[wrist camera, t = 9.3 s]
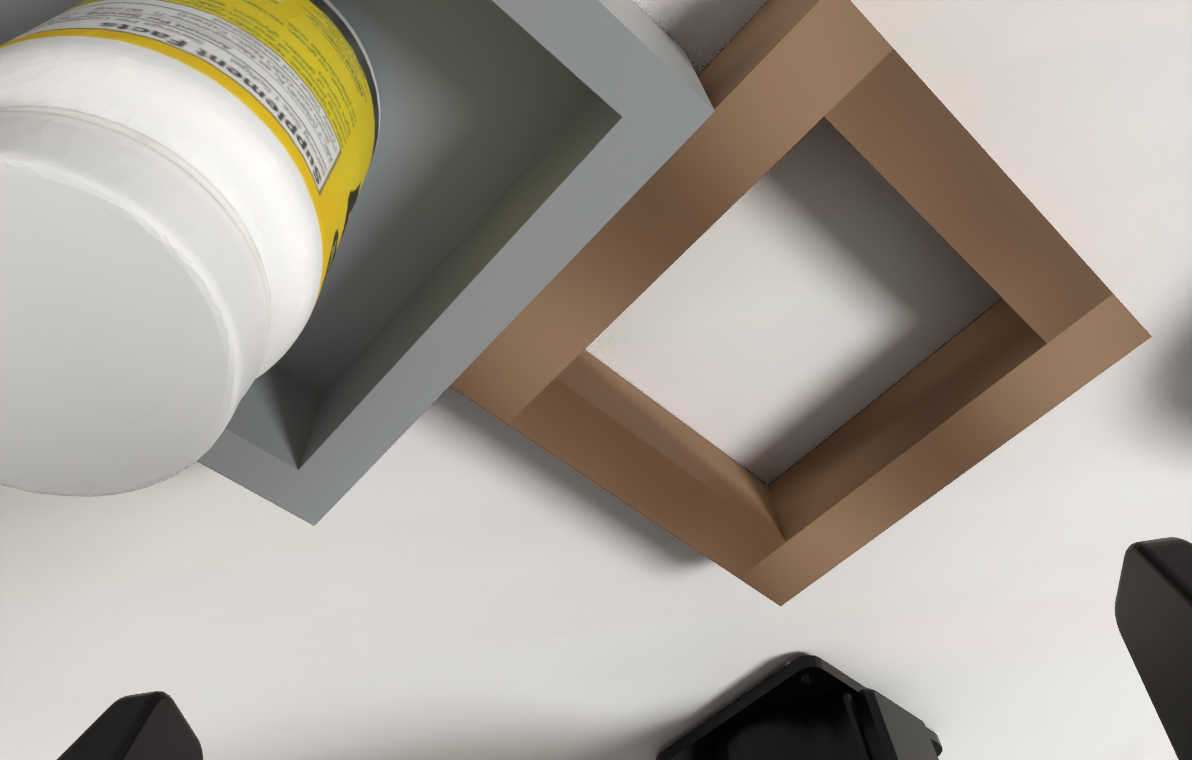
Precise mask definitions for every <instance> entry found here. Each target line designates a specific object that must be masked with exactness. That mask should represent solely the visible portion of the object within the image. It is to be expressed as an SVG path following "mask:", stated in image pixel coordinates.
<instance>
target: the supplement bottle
mask: <svg viewBox="0 0 1192 760" xmlns="http://www.w3.org/2000/svg"><path fill="white" fill-rule="evenodd" d="M379 130H380V100H379V93H378V87H377V82H376V78H375V75H374V71H373V68H372V65H371V63H370V60H369V58H368V55H367V53H366V51H365V49H364V47H363V45H362V43H361V41H360V39H359V38H358V36H357V34H356V33H355V31H354V30H353V28H352V27H351V26H350V24H349V23H348V21H347V20H346V19H345V18H344V16H343V15H342V14H341V13H340V12H339V11H338V10H337V8H336V7H335V6H334V5H333V4H332V3H331V2H330V1H329V0H85V1H83V2H81V3H80V4H78V5H76V6H74V7H72V8H70V9H69V10H67V11H65V12H63V13H61V14H59V15H58V16H56V17H54V18H52V19H51V20H49V21H47V22H45V23H43V24H41V25H39V26H37V27H35V28H33V29H31V30H29V31H28V32H26V33H24V34H22V35H20V36H18V37H16V38H14V39H12V40H10V41H8V42H6V43H4V44H2V45H0V484H2V485H4V486H8V487H12V488H17V489H21V490H25V491H30V492H36V493H42V494H52V495H62V496H104V495H114V494H120V493H125V492H130V491H135V490H138V489H142V488H145V487H148V486H150V485H153V484H156V483H158V482H161V481H164V480H166V479H168V478H169V477H172V476H174V475H176V474H178V473H179V472H181V471H182V470H184V469H186V468H187V467H189V466H190V465H192V464H193V463H195V462H196V461H197V460H198V459H199V458H200V457H201V456H202V455H204V454H205V453H206V452H207V451H208V450H209V449H210V448H211V447H212V446H213V444H214V443H215V442H216V440H217V439H218V438H219V437H220V435H221V434H222V432H223V431H224V429H225V428H226V426H227V424H228V423H229V421H230V420H231V418H232V416H233V414H234V412H235V410H236V408H237V406H238V404H239V402H240V400H241V399H242V397H243V396H244V395H245V394H246V392H247V391H248V389H249V388H250V386H251V385H252V383H253V382H254V380H255V379H256V378H258V377H259V376H261V375H262V374H263V373H265V372H266V371H267V370H268V369H270V368H271V367H272V366H273V365H274V364H275V363H276V362H277V361H278V360H279V359H280V358H281V357H282V356H283V355H284V354H285V353H286V352H287V351H288V350H289V348H290V347H291V346H292V344H293V343H294V342H295V341H296V339H297V338H298V336H299V335H300V333H301V332H302V330H303V328H304V327H305V325H306V323H307V321H308V320H309V317H310V315H311V313H312V311H313V308H314V306H315V304H316V302H317V299H318V296H319V294H320V291H321V289H322V286H323V284H324V281H325V279H326V276H327V274H328V272H329V270H330V267H331V265H332V263H333V260H334V258H335V254H336V250H337V247H338V244H339V242H340V240H341V238H342V236H343V233H344V231H345V227H346V225H347V222H348V220H349V217H350V214H351V212H352V209H353V207H354V204H355V202H356V199H357V197H358V194H359V192H360V189H361V187H362V184H363V182H364V179H365V177H366V174H367V171H368V169H369V166H370V164H371V161H372V158H373V155H374V152H375V149H376V145H377V142H378V136H379Z"/></svg>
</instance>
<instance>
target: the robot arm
mask: <svg viewBox="0 0 1192 760" xmlns="http://www.w3.org/2000/svg"><path fill="white" fill-rule="evenodd" d="M1115 616H1116V622H1117V625H1118V628H1119V631H1120V633H1121V636H1122V638H1123V640H1124V642H1125V644H1126V647H1127V649H1128V651H1129V653H1130V655H1131V657H1132V660H1133V662H1134V664H1135V666H1136V668H1137V670H1138V673H1139V675H1140V677H1141V679H1142V681H1143V683H1144V686H1145V688H1146V690H1147V692H1148V694H1149V696H1150V699H1151V701H1152V703H1153V705H1154V707H1155V709H1156V712H1157V714H1158V716H1159V718H1160V720H1161V722H1162V725H1163V727H1164V729H1165V731H1166V733H1167V735H1168V738H1169V740H1170V742H1171V744H1172V746H1173V749H1174V751H1175V753H1176V755H1177V757H1178V759H1179V760H1192V543H1190V542H1188V541H1186V540H1183V539H1180V538H1175V537H1168V538H1161V539H1155V540H1148V541H1141V542H1136V543H1133V544H1131V545H1130V546H1129V548H1128V549H1127V550H1126V553H1125V556H1124V561H1123V566H1122V571H1121V576H1120V581H1119V586H1118V591H1117V596H1116V601H1115ZM941 752H942V746H941V743H940V741H939V738H938V736H937V735H936V733H935V732H933V731H931V730H930V729H928V728H927V727H925V724H924V723H923V722H922V721H921V720H920V719H918V718H917V717H915V716H914V715H912V714H910V713H909V712H907V711H906V710H904V709H903V708H901V707H900V706H898V705H897V704H895V703H894V702H892V701H891V700H889V699H887V698H886V697H884V696H883V695H881V694H880V693H878V692H877V691H875V690H872V689H869V688H866V687H864V686H862V685H861V684H859V683H858V682H856V681H855V680H853V679H851V678H850V677H848V676H847V675H845V674H844V673H842V672H841V671H839V670H838V669H836V668H835V667H833V666H831V665H830V664H828V663H827V662H825V661H824V660H822V659H821V658H819V657H816V656H810V655H807V656H802V657H799V658H797V659H795V660H794V661H792V662H791V663H789V664H788V665H787V666H785V667H784V668H782V669H781V670H779V671H778V672H776V673H775V674H774V675H772V676H771V677H769V678H768V679H766V680H765V681H763V682H762V683H761V684H759V685H758V686H756V687H755V688H753V689H752V690H750V691H749V692H748V693H746V694H745V695H743V696H742V697H740V698H739V699H737V700H736V701H735V702H733V703H732V704H730V705H729V706H727V707H726V708H724V709H723V710H722V711H720V712H719V713H717V714H716V715H714V716H713V717H711V718H710V719H709V720H707V721H706V722H704V723H703V724H701V725H700V726H698V727H697V728H696V729H694V730H693V731H691V732H690V733H688V734H687V735H686V736H684V737H683V738H681V739H680V740H678V741H677V742H675V743H674V744H673V745H671V746H670V747H668V748H667V749H665V750H664V751H662V752H661V753H660V754H659V755H658V756H657V757H656V759H655V760H939V759H938V756H939V755H940V754H941ZM57 760H203V753H202V748H201V745H200V742H199V740H198V738H197V736H196V735H195V733H194V732H193V730H192V729H191V727H190V726H189V724H188V722H187V721H186V719H185V718H184V716H183V715H182V713H181V711H180V710H179V708H178V707H177V705H176V704H175V702H174V700H173V699H172V698H171V697H170V695H168V694H166V693H164V692H162V691H155V692H148V693H142V694H135V695H129V696H125V697H122V698H120V699H118V700H117V701H115V702H114V703H113V704H112V705H111V706H110V707H109V708H108V709H107V710H106V711H105V712H104V713H103V714H102V715H101V716H100V717H99V718H98V719H97V720H96V721H95V722H94V723H93V724H92V725H91V726H90V727H89V728H88V729H87V730H86V731H85V732H84V733H83V734H82V735H81V736H80V737H79V738H78V739H77V740H76V741H75V742H74V743H73V744H72V745H71V746H70V747H69V748H68V749H67V750H66V751H65V752H64V753H63V754H62V755H61V756H60V757H59V758H58V759H57Z"/></svg>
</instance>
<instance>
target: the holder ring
mask: <svg viewBox="0 0 1192 760" xmlns="http://www.w3.org/2000/svg"><path fill="white" fill-rule="evenodd" d="M698 78H699V80H700V82H701V84H702V86H703V88H704V90H705V92H706V94H707V97H708V99H709V101H710V103H711V105H712V107H713V109H714V111H715V112H714V113H713V114H712V115H711V116H710V117H709V118H708V119H707V120H706V121H705V122H704V123H703V124H702V125H701V126H700V127H699V128H698V129H697V130H696V131H695V132H694V133H693V134H692V135H691V136H690V137H689V138H688V140H687V141H686V142H685V143H684V144H683V145H682V146H681V147H680V148H679V149H678V150H677V151H676V152H675V153H674V154H673V155H672V156H671V157H670V158H669V159H668V160H667V161H666V162H665V163H664V164H663V165H662V166H661V167H660V169H659V170H658V171H657V172H656V173H655V174H654V175H653V176H652V177H651V178H650V179H649V180H648V181H647V182H646V183H645V184H644V185H643V186H642V187H641V188H640V189H639V190H638V191H637V192H636V193H635V194H634V195H633V196H632V198H631V199H630V200H629V201H628V202H627V203H626V204H625V205H624V206H623V207H622V208H621V209H620V210H619V211H618V212H617V213H616V214H615V215H614V216H613V217H612V218H611V219H610V220H609V221H608V222H607V223H606V224H605V225H604V226H603V228H602V229H601V230H600V231H599V232H598V233H597V234H596V235H595V236H594V237H593V238H592V239H591V240H590V241H589V242H588V243H587V244H586V245H585V246H584V247H583V248H582V249H581V250H580V251H579V252H578V253H577V254H576V255H575V257H574V258H573V259H572V260H571V261H570V262H569V263H568V264H567V265H566V266H565V267H564V268H563V269H562V270H561V271H560V272H559V273H558V274H557V275H556V276H555V277H554V278H553V279H552V280H551V281H550V282H549V283H548V284H547V286H546V287H545V288H544V289H543V290H542V291H541V292H540V293H539V294H538V295H537V296H536V297H535V298H534V299H533V300H532V301H531V302H530V303H529V304H528V305H527V306H526V307H525V308H524V309H523V310H522V311H521V312H520V313H519V315H518V316H517V317H516V318H515V319H514V320H513V321H512V322H511V323H510V324H509V325H508V326H507V327H506V328H505V329H504V330H503V331H502V332H501V333H500V334H499V335H498V336H497V337H496V338H495V339H494V340H493V341H492V342H491V344H490V345H489V346H488V347H487V348H486V349H485V350H484V351H483V352H482V353H481V354H480V355H479V356H478V357H477V358H476V359H475V360H474V361H473V362H472V363H471V364H470V365H469V366H468V367H467V368H466V369H465V370H464V371H463V373H462V374H461V375H460V376H459V377H458V378H457V379H456V380H455V381H454V382H453V383H452V384H451V385H450V386H451V387H453V388H454V389H456V390H457V391H459V392H460V393H462V394H463V395H465V396H466V397H468V398H469V399H471V400H472V401H474V402H475V403H477V404H478V405H480V406H481V407H483V408H484V409H486V410H487V411H489V412H490V413H492V414H493V415H495V416H496V417H498V418H499V419H501V420H502V421H504V422H505V423H507V424H508V425H510V426H511V427H513V428H514V429H516V430H517V431H519V432H520V433H522V434H523V435H525V436H526V437H528V438H529V439H531V440H532V441H534V442H535V443H537V444H538V445H540V446H541V447H543V448H544V449H546V450H547V451H549V452H550V453H552V454H553V455H555V456H556V457H558V458H559V459H561V460H562V461H564V462H565V463H567V464H568V465H570V466H571V467H573V468H574V469H576V470H577V471H579V472H580V473H582V474H583V475H585V476H586V477H588V478H589V479H591V480H592V481H594V482H595V483H597V484H598V485H600V486H601V487H603V488H604V489H606V490H607V491H609V492H610V493H612V494H613V495H615V496H616V497H618V498H619V499H621V500H622V501H624V502H625V503H627V504H628V505H630V506H631V507H633V508H634V509H636V510H637V511H639V512H640V513H642V514H643V515H644V516H646V517H647V518H649V519H650V520H652V521H653V522H655V523H656V524H658V525H659V526H661V527H662V528H664V529H665V530H667V531H668V532H670V533H671V534H673V535H674V536H676V537H677V538H679V539H680V540H682V541H683V542H685V543H686V544H688V545H689V546H691V547H692V548H694V549H695V550H697V551H698V552H700V553H701V554H703V555H704V556H706V557H707V558H709V559H710V560H712V561H713V562H715V563H716V564H718V565H719V566H721V567H722V568H724V569H725V570H727V571H728V572H730V573H731V574H733V575H734V576H736V577H737V578H739V579H740V580H742V581H743V582H745V583H746V584H748V585H749V586H751V587H752V588H754V589H755V590H757V591H758V592H760V593H761V594H763V595H764V596H766V597H767V598H769V599H770V600H772V601H773V602H775V603H776V604H778V605H779V606H782V605H783V604H785V603H786V602H787V601H789V600H790V599H791V598H793V597H794V596H796V595H797V594H798V593H800V592H801V591H802V590H804V589H805V588H807V587H808V586H809V585H811V584H812V583H813V582H815V581H816V580H818V579H819V578H820V577H822V576H823V575H824V574H826V573H827V572H829V571H830V570H831V569H833V568H834V567H835V566H837V565H838V564H840V563H841V562H842V561H844V560H845V559H846V558H848V557H849V556H851V555H852V554H853V553H855V552H856V551H857V550H859V549H860V548H862V547H863V546H864V545H866V544H867V543H868V542H870V541H871V540H873V539H874V538H875V537H877V536H878V535H879V534H881V533H882V532H884V531H885V530H886V529H888V528H889V527H890V526H892V525H893V524H895V523H896V522H897V521H899V520H900V519H901V518H903V517H904V516H906V515H907V514H908V513H910V512H911V511H912V510H914V509H915V508H917V507H918V506H919V505H921V504H922V503H923V502H925V501H926V500H928V499H929V498H930V497H932V496H933V495H934V494H936V493H937V492H939V491H940V490H941V489H943V488H944V487H945V486H947V485H948V484H950V483H951V482H952V481H954V480H955V479H956V478H958V477H959V476H961V475H962V474H963V473H965V472H966V471H967V470H969V469H970V468H972V467H973V466H974V465H976V464H977V463H978V462H980V461H981V460H983V459H984V458H985V457H987V456H988V455H989V454H991V453H992V452H994V451H995V450H996V449H998V448H999V447H1000V446H1002V445H1003V444H1005V443H1006V442H1007V441H1009V440H1010V439H1011V438H1013V437H1014V436H1016V435H1017V434H1018V433H1020V432H1021V431H1022V430H1024V429H1025V428H1027V427H1028V426H1029V425H1031V424H1032V423H1033V422H1035V421H1036V420H1038V419H1039V418H1040V417H1042V416H1043V415H1044V414H1046V413H1047V412H1049V411H1050V410H1051V409H1053V408H1054V407H1055V406H1057V405H1058V404H1060V403H1061V402H1062V401H1064V400H1065V399H1066V398H1068V397H1069V396H1071V395H1072V394H1073V393H1075V392H1076V391H1077V390H1079V389H1080V388H1082V387H1083V386H1084V385H1086V384H1087V383H1088V382H1090V381H1091V380H1093V379H1094V378H1095V377H1097V376H1098V375H1099V374H1101V373H1102V372H1104V371H1105V370H1106V369H1108V368H1109V367H1110V366H1112V365H1113V364H1115V363H1116V362H1117V361H1119V360H1120V359H1121V358H1123V357H1124V356H1126V355H1127V354H1128V353H1130V352H1131V351H1132V350H1134V349H1135V348H1137V347H1138V346H1139V345H1141V344H1142V343H1143V342H1145V341H1146V340H1148V339H1149V338H1150V337H1152V336H1151V335H1150V334H1149V333H1148V332H1147V331H1146V330H1145V329H1144V328H1143V326H1142V325H1141V324H1140V323H1139V322H1138V321H1137V320H1136V319H1135V318H1134V316H1133V315H1132V314H1131V313H1130V312H1129V311H1128V310H1127V309H1126V307H1125V306H1124V305H1123V304H1122V303H1121V302H1120V301H1119V300H1118V299H1117V297H1116V296H1115V295H1114V294H1113V293H1112V292H1111V291H1110V290H1109V289H1108V287H1107V286H1106V285H1105V284H1104V283H1103V282H1102V281H1101V280H1100V278H1099V277H1098V276H1097V275H1096V274H1095V273H1094V272H1093V271H1092V270H1091V268H1090V267H1089V266H1088V265H1087V264H1086V263H1085V262H1084V261H1083V260H1082V258H1081V257H1080V256H1079V255H1078V254H1077V253H1076V252H1075V251H1074V249H1073V248H1072V247H1071V246H1070V245H1069V244H1068V243H1067V242H1066V241H1065V239H1064V238H1063V237H1062V236H1061V235H1060V234H1059V233H1058V232H1057V231H1056V229H1055V228H1054V227H1053V226H1052V225H1051V224H1050V223H1049V222H1048V220H1047V219H1046V218H1045V217H1044V216H1043V215H1042V214H1041V213H1040V212H1039V210H1038V209H1037V208H1036V207H1035V206H1034V205H1033V204H1032V203H1031V202H1030V200H1029V199H1028V198H1027V197H1026V196H1025V195H1024V194H1023V193H1022V191H1021V190H1020V189H1019V188H1018V187H1017V186H1016V185H1015V184H1014V183H1013V181H1012V180H1011V179H1010V178H1009V177H1008V176H1007V175H1006V174H1005V173H1004V171H1003V170H1002V169H1001V168H1000V167H999V166H998V165H997V164H996V162H995V161H994V160H993V159H992V158H991V157H990V156H989V155H988V154H987V152H986V151H985V150H984V149H983V148H982V147H981V146H980V145H979V144H978V142H977V141H976V140H975V139H974V138H973V137H972V136H971V135H970V133H969V132H968V131H967V130H966V129H965V128H964V127H963V126H962V125H961V123H960V122H959V121H958V120H957V119H956V118H955V117H954V116H953V115H952V113H951V112H950V111H949V110H948V109H947V108H946V107H945V106H944V104H943V103H942V102H941V101H940V100H939V99H938V98H937V97H936V96H935V94H934V93H933V92H932V91H931V90H930V89H929V88H928V87H927V86H926V84H925V83H924V82H923V81H922V80H921V79H920V78H919V77H918V75H917V74H916V73H915V72H914V71H913V70H912V69H911V68H910V67H909V65H908V64H907V63H906V62H905V61H904V60H903V59H902V58H901V57H900V55H899V54H898V53H897V52H896V51H895V50H894V49H893V48H892V46H891V45H890V44H889V43H888V42H887V41H886V40H885V39H884V38H883V36H882V35H881V34H880V33H879V32H878V31H877V30H876V29H875V28H874V26H873V25H872V24H871V23H870V22H869V21H868V20H867V19H866V17H865V16H864V15H863V14H862V13H861V12H860V11H859V10H858V9H857V7H856V6H855V5H854V4H853V3H852V2H851V1H850V0H769V1H768V2H767V3H766V4H765V5H764V6H763V7H762V8H761V9H760V10H759V11H758V12H757V13H756V14H755V15H754V17H753V18H752V19H751V20H750V21H749V22H748V23H747V24H746V25H745V26H744V27H743V28H742V29H741V30H740V31H739V33H738V34H737V35H736V36H735V37H734V38H733V39H732V40H731V41H730V42H729V43H728V44H727V45H726V46H725V47H724V49H723V50H722V51H721V52H720V53H719V54H718V55H717V56H716V57H715V58H714V59H713V60H712V61H711V62H710V63H709V65H708V66H707V67H706V68H705V69H704V70H703V71H702V72H701V73H700V74H699V75H698ZM823 117H825V118H826V119H827V120H828V121H829V122H830V123H831V124H832V125H833V126H834V127H835V128H836V129H837V130H838V131H839V132H840V133H841V134H842V135H843V137H844V138H845V139H846V140H847V141H848V142H849V143H850V144H851V145H852V146H853V147H854V148H855V149H856V150H857V151H858V152H859V153H860V154H861V155H862V156H863V157H864V158H865V159H866V160H867V161H868V162H869V163H870V164H871V165H872V166H873V167H874V168H875V169H876V170H877V171H878V172H879V173H880V174H881V175H882V176H883V177H884V178H885V179H886V180H887V181H888V182H889V183H890V184H891V185H892V186H893V187H894V188H895V189H896V190H897V191H898V192H899V193H900V194H901V196H902V197H903V198H904V199H905V200H906V201H907V202H908V203H909V204H910V205H911V206H912V207H913V208H914V209H915V210H916V211H917V212H918V213H919V214H920V215H921V216H922V217H923V218H924V219H925V220H926V221H927V222H928V223H929V224H930V225H931V226H932V227H933V228H934V229H935V230H936V231H937V232H938V233H939V234H940V235H941V236H942V237H943V238H944V239H945V240H946V241H947V242H948V243H949V244H950V245H951V246H952V247H953V248H954V249H955V250H956V251H957V252H958V253H959V255H960V256H961V257H962V258H963V259H964V260H965V261H966V262H967V263H968V264H969V265H970V266H971V267H972V268H973V269H974V270H975V271H976V272H977V273H978V274H979V275H980V276H981V277H982V278H983V279H984V280H985V281H986V282H987V283H988V284H989V285H990V286H991V287H992V288H993V289H994V290H995V291H996V292H997V293H998V294H999V295H1000V296H1001V297H1002V298H1003V299H1002V300H1000V301H999V302H998V303H997V304H995V305H994V306H993V307H991V308H990V309H989V310H988V311H986V312H985V313H984V314H983V315H981V316H980V317H979V318H978V319H976V320H975V321H974V322H973V323H971V324H970V325H969V326H968V327H966V328H965V329H964V330H963V331H961V332H960V333H959V334H958V335H956V336H955V337H954V338H953V339H951V340H950V341H949V342H948V343H946V344H945V345H944V346H943V347H941V348H940V349H939V350H938V351H936V352H935V353H934V354H933V355H931V356H930V357H929V358H928V359H926V360H925V361H924V362H923V363H921V364H920V365H919V366H918V367H916V368H915V369H914V370H913V371H911V372H910V373H909V374H908V375H906V376H905V377H904V378H903V379H901V380H900V381H899V382H898V383H896V384H895V385H894V386H893V387H891V388H890V389H889V390H888V391H886V392H885V393H884V394H883V395H881V396H880V397H879V398H878V399H876V400H875V401H874V402H873V403H871V404H870V405H869V406H868V407H866V408H865V409H864V410H863V411H861V412H860V413H859V414H858V415H856V416H855V417H854V418H853V419H851V420H850V421H849V422H848V423H846V424H845V425H844V426H842V427H841V428H840V429H839V430H837V431H836V432H835V433H834V434H832V435H831V436H830V437H829V438H827V439H826V440H825V441H824V442H822V443H821V444H820V445H819V446H817V447H816V448H815V449H814V450H812V451H811V452H810V453H809V454H807V455H806V456H805V457H804V458H802V459H801V460H800V461H799V462H797V463H796V464H795V465H794V466H792V467H791V468H790V469H789V470H787V471H786V472H785V473H784V474H782V475H781V476H780V477H779V478H777V479H776V480H775V481H774V482H772V483H771V484H770V485H769V486H768V485H767V484H766V483H764V482H763V481H762V480H760V479H759V478H757V477H756V476H755V475H753V474H752V473H751V472H749V471H748V470H747V469H745V468H744V467H743V466H741V465H740V464H739V463H737V462H736V461H735V460H733V459H732V458H730V457H729V456H728V455H726V454H725V453H724V452H722V451H721V450H720V449H718V448H717V447H716V446H714V445H713V444H712V443H710V442H709V441H708V440H706V439H705V438H703V437H702V436H701V435H699V434H698V433H697V432H695V431H694V430H693V429H691V428H690V427H689V426H687V425H686V424H685V423H683V422H682V421H681V420H679V419H678V418H676V417H675V416H674V415H672V414H671V413H670V412H668V411H667V410H666V409H664V408H663V407H662V406H660V405H659V404H658V403H656V402H655V401H653V400H652V399H651V398H649V397H648V396H647V395H645V394H644V393H643V392H641V391H640V390H639V389H637V388H636V387H635V386H633V385H632V384H631V383H629V382H628V381H626V380H625V379H624V378H622V377H621V376H620V375H618V374H617V373H616V372H614V371H613V370H612V369H610V368H609V367H608V366H606V365H605V364H604V363H602V362H601V361H599V360H598V359H597V358H595V357H594V356H593V355H591V354H590V353H589V352H587V351H586V350H585V348H586V347H587V346H588V345H589V344H590V343H591V342H593V341H594V340H595V339H596V338H597V337H598V336H599V335H600V334H601V333H602V332H603V331H604V330H605V329H606V328H607V327H608V326H609V325H610V324H611V323H612V322H613V321H614V320H615V319H616V318H617V317H618V316H619V315H620V314H621V313H622V312H623V311H624V310H625V309H626V308H627V307H629V306H630V305H631V304H632V303H633V302H634V301H635V300H636V299H637V298H638V297H639V296H640V295H641V294H642V293H643V292H644V291H645V290H646V289H647V288H648V287H649V286H650V285H651V284H652V283H653V282H654V281H655V280H656V279H657V278H658V277H659V276H660V275H661V274H662V273H663V272H665V271H666V270H667V269H668V268H669V267H670V266H671V265H672V264H673V263H674V262H675V261H676V260H677V259H678V258H679V257H680V256H681V255H682V254H683V253H684V252H685V251H686V250H687V249H688V248H689V247H690V246H691V245H692V244H693V243H694V242H695V241H696V240H697V239H698V238H699V237H701V236H702V235H703V234H704V233H705V232H706V231H707V230H708V229H709V228H710V227H711V226H712V225H713V224H714V223H715V222H716V221H717V220H718V219H719V218H720V217H721V216H722V215H723V214H724V213H725V212H726V211H727V210H728V209H729V208H730V207H731V206H732V205H733V204H734V203H735V202H737V201H738V200H739V199H740V198H741V197H742V196H743V195H744V194H745V193H746V192H747V191H748V190H749V189H750V188H751V187H752V186H753V185H754V184H755V183H756V182H757V181H758V180H759V179H760V178H761V177H762V176H763V175H764V174H765V173H766V172H767V171H768V170H769V169H770V168H771V167H773V166H774V165H775V164H776V163H777V162H778V161H779V160H780V159H781V158H782V157H783V156H784V155H785V154H786V153H787V152H788V151H789V150H790V149H791V148H792V147H793V146H794V145H795V144H796V143H797V142H798V141H799V140H800V139H801V138H802V137H803V136H804V135H805V134H806V133H807V132H809V131H810V130H811V129H812V128H813V127H814V126H815V125H816V124H817V123H818V122H819V121H820V120H821V119H822V118H823Z"/></svg>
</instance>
